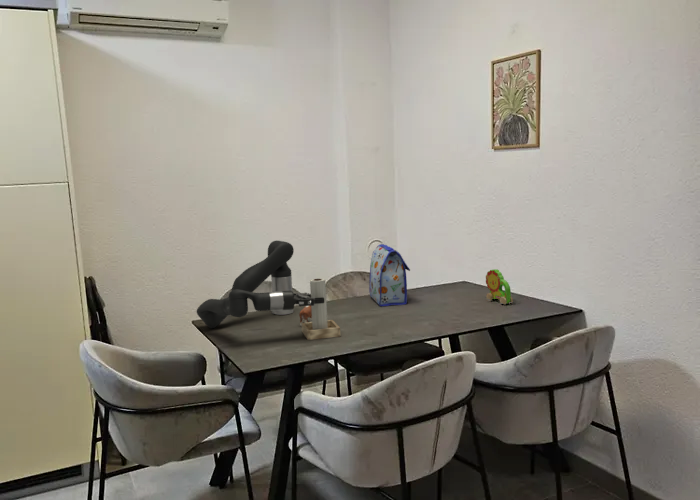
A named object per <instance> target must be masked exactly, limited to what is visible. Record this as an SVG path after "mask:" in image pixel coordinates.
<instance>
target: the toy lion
mask: <svg viewBox="0 0 700 500" xmlns="http://www.w3.org/2000/svg"><path fill="white" fill-rule="evenodd" d="M485 284H486V287H487V288H488V290H489V293H488V292H487V294H486V297H485V298H486V300H487V299H490V300H492V299H498V300H499V304H500V303H503V304H505V305H506V304H508V303H509V302H512V303H513V302H514V299H513V296H512V295H511V286H510V283H509V282H508V280H505V279H504V275H503V274H502V272H501V271H500V270H499V269H490V270H489V271H487V273H486V275H485ZM503 288H504V290H503ZM492 301H493V300H492Z"/></svg>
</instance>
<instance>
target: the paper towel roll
mask: <svg viewBox="0 0 700 500" xmlns="http://www.w3.org/2000/svg"><path fill="white" fill-rule="evenodd" d="M326 285H327V284H326V279H325V278H313V279H310V280H309V286H310V288H309V289H310V294H311V298H321V297H323V298H324V303H320V304H314V306H311V309H312V318H311V321H312V328H313V330H317V329H327V328H328V325H327V320H328V311H327V310H328V308H327V290H326V287H327V286H326Z"/></svg>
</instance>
